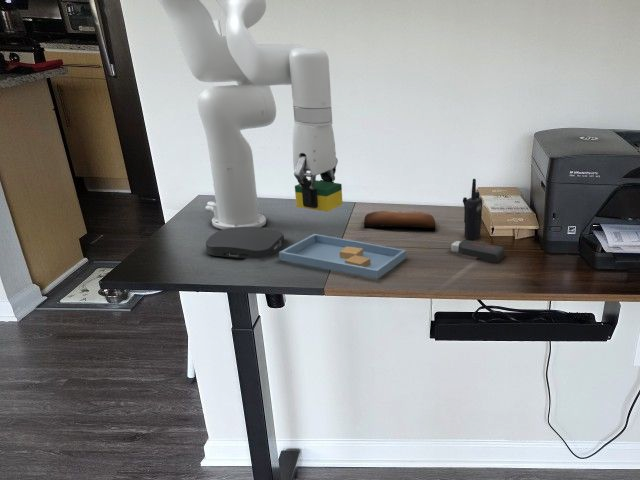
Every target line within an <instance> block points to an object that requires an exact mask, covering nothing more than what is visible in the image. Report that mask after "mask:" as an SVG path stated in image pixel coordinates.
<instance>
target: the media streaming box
mask: <svg viewBox="0 0 640 480" xmlns="http://www.w3.org/2000/svg"><path fill="white" fill-rule="evenodd" d="M284 244H285V234H284V233H283V232H281V231H279V230H277V229H274V228H268V227H263V226H262V227H234V228H227V229H219V230H217V231H215V232H214V233H213V234H211V235H210V236H209V237H208V238H207V239H206V240H205V248H206V253H207V254H208V255H211V256H215V257H225V258H233V259H264V258H268V257H271V256H272V255H273V254H275V253H276V252H277V251H278V250H279V249H280V248H282V246H283V245H284Z"/></svg>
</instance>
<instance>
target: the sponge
mask: <svg viewBox="0 0 640 480" xmlns="http://www.w3.org/2000/svg"><path fill="white" fill-rule="evenodd" d="M308 180H309V181H310V179H308ZM342 186H343V185H342V183H338V182H334V183H332V182H325V181H320V180H317V179H316V180H315V187H314V189H317V202H318V207H317V208H310V207H304V206H303V198H302V188H300V184H299V183H298V184H295V185H294V192H295V193H294V194H295V204H296V205H295V206H296V208H302V209H309V210H315V211H322V212H330V211H332V210H334V209H336V208H338V207H340V206H343V187H342Z"/></svg>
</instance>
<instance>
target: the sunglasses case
mask: <svg viewBox="0 0 640 480" xmlns="http://www.w3.org/2000/svg"><path fill="white" fill-rule="evenodd" d="M363 221H364V222H363V228H364V229H366V228H377V227H378V228H381V227H385V228H386V227H399V228H405V227H406V228H407V227H409V228H425V229H426V228H427V229H428V228H429V229H433V230H434V231H435V230H436V220H435V217H434V216H433V215H432V214H429V213H427V212H424V211H423V212H422V211H404V212H403V211H390V210H377V211H376V210H375V211H372V212H368V213H367V214H366V215H365V216H364V220H363Z"/></svg>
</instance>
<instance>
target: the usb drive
mask: <svg viewBox="0 0 640 480" xmlns="http://www.w3.org/2000/svg"><path fill="white" fill-rule="evenodd" d="M450 251H451V252H453V253H454V252H455V253H458V254H460V255H464V256H468V257H474V258H475V260H477V261H482V262H489V263H492V264H497V263H499V262H500V261H501V260H502V259H504V257H505V251H506V250H505V248H504V247H503V246H499V245H495V244H491V243H485V242H484V243H483V242H478V241H473V240H470V239H462V241H459V240H455V241H454V242H453V243H451V245H450Z"/></svg>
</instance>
